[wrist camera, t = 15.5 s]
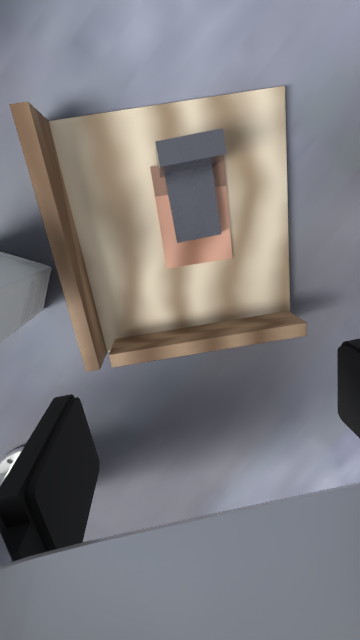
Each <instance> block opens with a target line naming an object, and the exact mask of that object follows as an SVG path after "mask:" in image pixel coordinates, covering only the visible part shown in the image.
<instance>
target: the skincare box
mask: <svg viewBox="0 0 360 640" xmlns="http://www.w3.org/2000/svg"><path fill="white" fill-rule="evenodd" d="M51 269H52V267H51V266H48V265H45V264H41V263H38V262H35V261H31V260H28V259H25V258H21V257H18V256H14V255H11V254H7V253H4V252H0V342H1V341H3V340H4V339H5V338H7V337H8V336H9V335H11V334H12V333H13V332H15V331H16V330H17V329H19V328H20V327H21V326H23V325H24V324H25V323H27V322H28V321H29V320H31V319H32V318H33V317H35V316H36V315H37V314H39V313H40V312H41V311H43V308H44V303H45V298H46V293H47V288H48V283H49V279H50V274H51Z"/></svg>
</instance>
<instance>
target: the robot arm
mask: <svg viewBox="0 0 360 640" xmlns="http://www.w3.org/2000/svg"><path fill="white" fill-rule="evenodd" d="M338 414H339V416H340V418H341V420H342V421H343V422H344V423H345V424H346V425H347V426H348V427H349V428H350V429H351V430H352V431H353V432H354V433H355V434H356V435H357V436H358V437H359V438H360V339H355V340H350V341H345V342H343V343H342V345H341V346H340V347H339V348H338ZM98 473H99V458H98V455H97V452H96V449H95V445H94V442H93V439H92V436H91V433H90V429H89V426H88V423H87V420H86V417H85V413H84V410H83V407H82V404H81V401H80V399H79V398H78V397H77V398H75V397H74V396H73V395H72V394H71V395H66V396H61V397H56V398H54V399H53V401H52V402H51V404H50V405H49V407H48V409H47V410H46V412H45V414H44V415H43V417H42V419H41V420H40V422H39V423H38V425H37V427H36V428H35V430H34V432H33V433H32V435H31V437H30V438H29V440H28V441H27V443H26V445H25V446H23V447H20V448H17V449H15V450H13V451H12V452H10V453H9V454H7V455H6V456H5V457H4V459H3V460H2V461H1V463H0V640H360V483H356V484H351V485H346V486H341V487H337V488H332V489H327V490H322V491H318V492H313V493H308V494H303V495H299V496H294V497H289V498H284V499H280V500H275V501H270V502H266V503H261V504H256V505H252V506H247V507H242V508H237V509H233V510H228V511H223V512H219V513H214V514H210V515H205V516H201V517H196V518H191V519H187V520H182V521H178V522H173V523H168V524H164V525H159V526H155V527H150V528H146V529H141V530H136V531H132V532H127V533H123V534H118V535H114V536H109V537H105V538H100V539H96V540H91V541H87V542H83V538H84V533H85V529H86V525H87V520H88V516H89V512H90V507H91V503H92V499H93V494H94V490H95V486H96V482H97V477H98ZM82 542H83V543H82Z"/></svg>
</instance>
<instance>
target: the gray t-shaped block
mask: <svg viewBox="0 0 360 640" xmlns="http://www.w3.org/2000/svg"><path fill="white" fill-rule="evenodd" d="M155 147H156V159H157V165H158V170H159V175H160V177H165V182H166V188H167V193H168V198H169V204H170V209H171V214H172V220H173V225H174V230H175V236H176V241H177V243H180V242H185V241H190V240H195V239H200V238H205V237H210V236H215V235H220V234H221V227H220V220H219V213H218V205H217V198H216V190H215V183H214V176H213V168H212V167H214V166H215V165H216V164H217V163H218V162H219V161H220V160H221V159H222V158H223V157H224V156H225V155H226V147H225V138H224V130H223V128H220V129H215V130H210V131H205V132H200V133H195V134H190V135H185V136H180V137H175V138H170V139H165V140H160V141H155Z"/></svg>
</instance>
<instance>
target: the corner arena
mask: <svg viewBox="0 0 360 640" xmlns="http://www.w3.org/2000/svg"><path fill="white" fill-rule="evenodd" d="M9 105H10V108H11V112H12V115H13V119H14V122H15V126H16V129H17V133H18V136H19V140H20V143H21V147H22V150H23V154H24V157H25V161H26V164H27V168H28V171H29V175H30V178H31V182H32V185H33V189H34V192H35V196H36V199H37V202H38V206H39V209H40V213H41V216H42V220H43V223H44V227H45V230H46V234H47V237H48V241H49V244H50V248H51V251H52V255H53V258H54V262H55V265H56V269H57V272H58V276H59V279H60V283H61V286H62V290H63V293H64V297H65V300H66V304H67V307H68V311H69V314H70V318H71V321H72V325H73V328H74V331H75V335H76V338H77V342H78V345H79V349H80V352H81V356H82V359H83V363H84V366H85V370H86V372H88V371H94V370H100V368H101V366H102V363H103V361H104V358H105V356H106V354H107V352H110V353H109V358H110V362H111V366H112V367H118V366H124V365H130V364H136V363H143V362H149V361H155V360H161V359H167V358H173V357H179V356H185V355H191V354H197V353H203V352H210V351H216V350H222V349H228V348H234V347H240V346H246V345H252V344H258V343H264V342H271V341H277V340H283V339H289V338H295V337H301V336H307V323H306V322H305V321H303V320H302V319H300V318H299V317H297V316H296V315H294V314H293V313H291V312H290V282H289V239H288V197H287V154H286V112H285V86H281V87H274V88H267V89H260V90H254V91H247V92H240V93H234V94H227V95H220V96H213V97H207V98H200V99H193V100H187V101H180V102H173V103H167V104H160V105H153V106H146V107H140V108H133V109H126V110H120V111H113V112H106V113H99V114H93V115H86V116H79V117H73V118H66V119H59V120H53V121H48V120H47V119H46V118H45V117H44V116H43V115H42V114H41V113H40V112H39V111H37V110H36V109H35V108H34V107H33V106H32V105H31V104H30V103H29V102H23V103H16V104H9ZM220 128H223V130H224V138H225V147H226V155H225V156H224V157H223V158H222V159H221V160H220V161H219V162H218V163H217V164H216V165H215V166H214V167H212V168H213V176H214V183H215V190H216V198H217V205H218V213H219V220H220V227H221V234H220V235H215V236H210V237H205V238H200V239H195V240H190V241H185V242H180V243H177V241H176V236H175V230H174V225H173V220H172V214H171V209H170V204H169V198H168V193H167V188H166V182H165V177H160V175H159V170H158V165H157V159H156V147H155V141H160V140H165V139H170V138H175V137H180V136H185V135H190V134H195V133H200V132H205V131H210V130H215V129H220Z"/></svg>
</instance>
